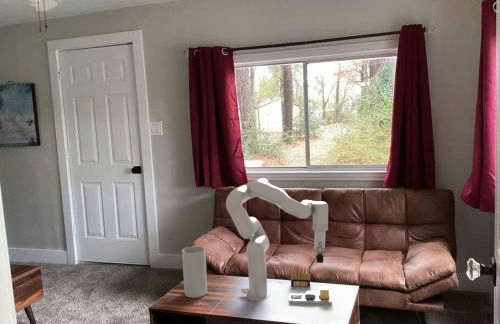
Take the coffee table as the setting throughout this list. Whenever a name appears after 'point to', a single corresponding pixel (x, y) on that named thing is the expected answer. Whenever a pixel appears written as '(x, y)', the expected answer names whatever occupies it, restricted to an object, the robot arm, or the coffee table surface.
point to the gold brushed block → (324, 293)
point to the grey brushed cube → (309, 295)
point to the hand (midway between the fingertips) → (319, 259)
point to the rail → (302, 300)
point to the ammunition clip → (301, 281)
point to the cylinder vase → (194, 271)
